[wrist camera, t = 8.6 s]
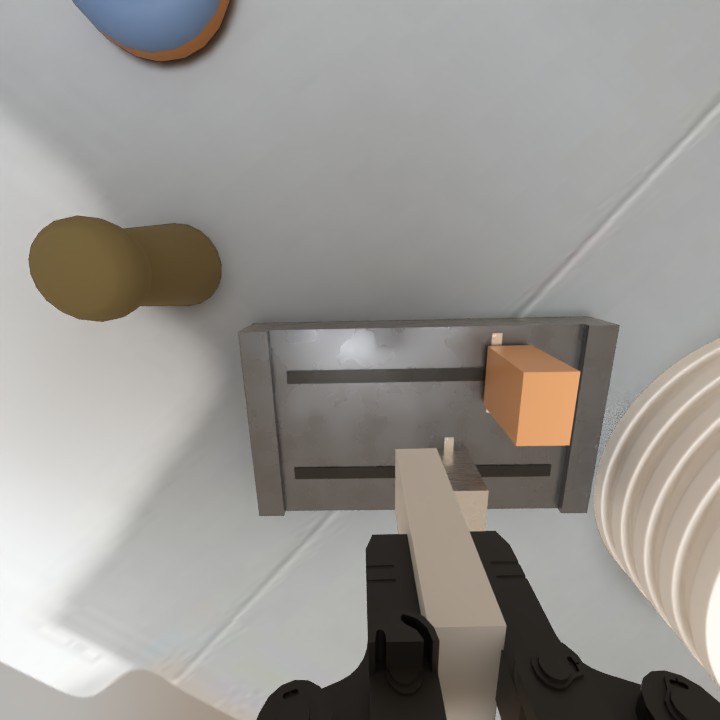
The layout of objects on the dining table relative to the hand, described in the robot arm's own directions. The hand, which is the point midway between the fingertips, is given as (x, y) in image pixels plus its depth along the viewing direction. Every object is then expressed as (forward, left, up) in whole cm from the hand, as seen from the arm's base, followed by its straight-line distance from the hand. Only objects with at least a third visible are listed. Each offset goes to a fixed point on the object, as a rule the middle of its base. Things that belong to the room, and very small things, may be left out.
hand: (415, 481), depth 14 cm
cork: (-8, -16, -17) cm, 24 cm away
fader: (0, +8, -13) cm, 15 cm away
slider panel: (+4, +2, -17) cm, 17 cm away
